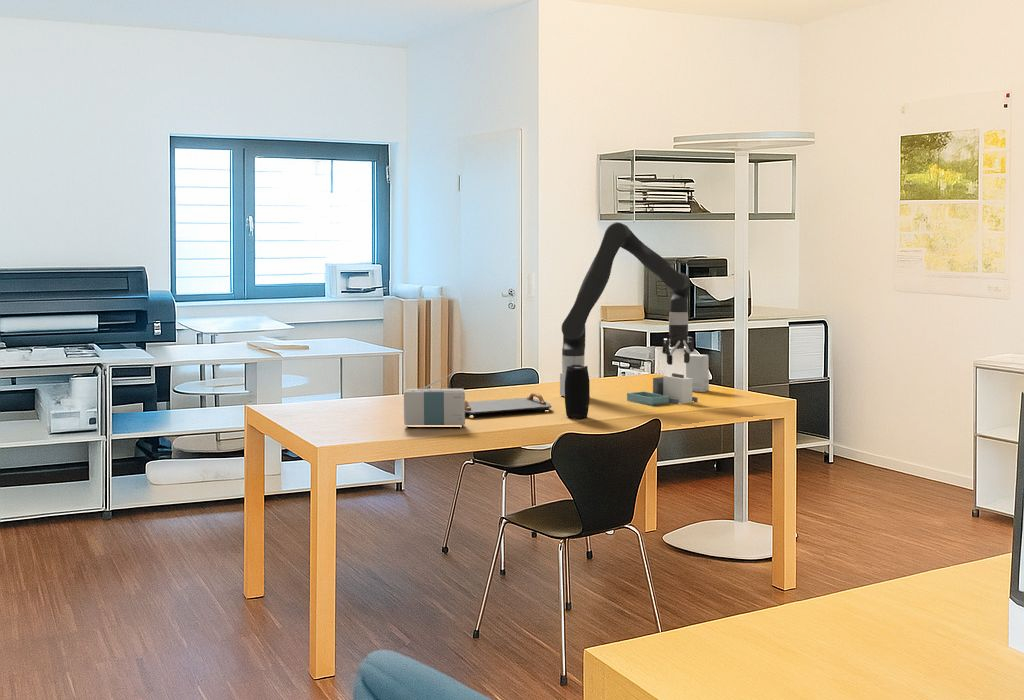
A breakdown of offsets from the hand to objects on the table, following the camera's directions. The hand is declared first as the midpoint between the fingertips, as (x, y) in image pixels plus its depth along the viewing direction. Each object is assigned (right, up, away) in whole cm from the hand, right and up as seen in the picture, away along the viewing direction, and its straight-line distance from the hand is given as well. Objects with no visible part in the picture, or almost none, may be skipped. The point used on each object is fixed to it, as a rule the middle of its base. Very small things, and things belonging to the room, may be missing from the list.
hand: (678, 363), depth 412 cm
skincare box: (+13, -12, +30) cm, 35 cm away
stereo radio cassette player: (-93, -22, -53) cm, 109 cm away
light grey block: (0, -15, +2) cm, 15 cm away
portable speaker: (-43, -19, -34) cm, 58 cm away
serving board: (-71, -18, -20) cm, 76 cm away
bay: (-1, -15, +2) cm, 15 cm away
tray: (-12, -15, 0) cm, 20 cm away
